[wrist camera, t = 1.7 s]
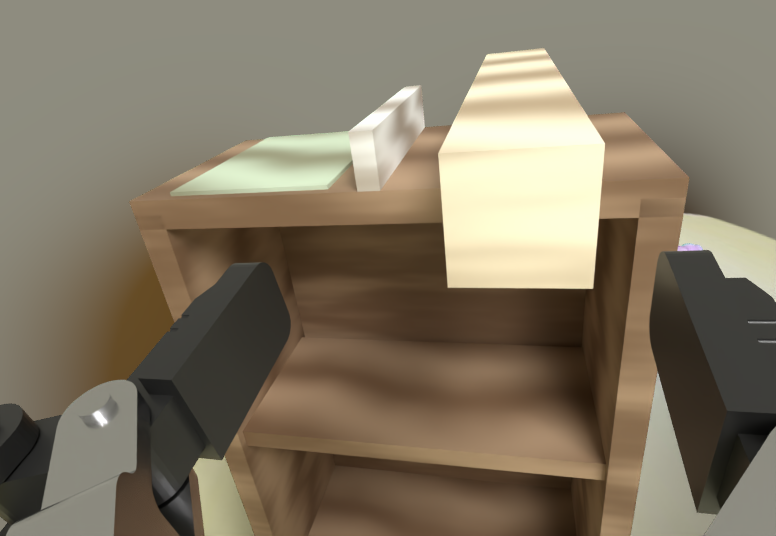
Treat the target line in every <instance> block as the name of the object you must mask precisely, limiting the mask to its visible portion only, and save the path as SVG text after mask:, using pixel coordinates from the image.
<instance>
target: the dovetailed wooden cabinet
mask: <svg viewBox="0 0 776 536" xmlns="http://www.w3.org/2000/svg"><path fill="white" fill-rule="evenodd" d="M587 116H588V118H589V119H590V121H591V122H592V124H593V126H594V127H595V129H596V130H597V132H598V133H599V135H600V136H601V138H602V140H603V141H604V143H605V150H604V162H603V174H602V186H601V199H600V211H599V223H598V235H597V247H596V260H595V272H594V284H593V289H563V288H448V283H447V269H446V255H445V241H444V227H443V213H442V199H441V186H440V172H439V158H438V153H439V151H440V149H441V147H442V145H443V143H444V141H445V139H446V137H447V135H448V133H449V131H450V129H451V127H452V125H450V126H436V127H425V124H424V112H423V100H422V88H421V85H419V86H410V87H405V88H403V89H402V90H400V91H399V92H398V93H397V94H395V95H394V96H393V97H392V98H390V99H389V100H388V101H387V102H385V103H384V104H383V105H382V106H380V107H379V108H378V109H377V110H375V111H374V112H373V113H371V114H370V115H369V116H368V117H366V118H365V119H364V120H363V121H361V122H360V123H359V124H358V125H356V126H355V127H354V128H353V129H351V130H350V131H348V132H334V133H320V134H307V135H294V136H281V137H268V138H267V139H260V140H247V141H244V142H242V143H240V144H238V145H236V146H234V147H233V148H231V149H229V150H227V151H225V152H223V153H221V154H219V155H217V156H215V157H213V158H211V159H210V160H208V161H206V162H204V163H202V164H200V165H198V166H196V167H194V168H192V169H190V170H188V171H187V172H185V173H183V174H181V175H179V176H177V177H175V178H173V179H171V180H169V181H168V182H165V183H164V184H162V185H160V186H158V187H156V188H154V189H152V190H150V191H148V192H146V193H145V194H142V195H141V196H139V197H137V198H135V199H133V200H131V201H130V205H131V208H132V210H133V213H134V215H135V218H136V221H137V223H138V226H139V229H140V232H141V234H142V237H143V239H144V242H145V245H146V248H147V250H148V253H149V255H150V258H151V261H152V264H153V266H154V269H155V272H156V274H157V277H158V280H159V282H160V285H161V287H162V290H163V293H164V295H165V298H166V301H167V303H168V306H169V309H170V311H171V314H172V317H173V319H174V322H176V321H177V319H178V318H181V317H182V316H181V315H182V314H183V312H184V311H185V310H186V309H187V308H188V306H189V305H190V304H191V303H192V302H193V300H194V299H195V298H197V297H198V296H200V295H201V294H202V293H204V292H205V291H206V290H208V289H209V288H210V287H212V286H213V285H215V284H216V282H217V281H218V280H219V279H220V277H221V276H222V275H223V274H224V273H225V271H226V270H227V269H228V268H229V267H230V266H231V265H232V264H234V263H259V262H264V263H267V264H268V265H269V266H270V267H271V269H272V271H273V273H274V276H275V278H276V281H277V283H278V286H279V288H280V291H281V293H282V296H283V299H284V301H285V304H286V306H287V309H288V311H289V314H290V320H291V329H290V335H289V338H288V340H287V342H286V344H285V346H284V348H283V350H282V351H281V353H280V355H279V357H278V359H277V360H276V362H275V364H274V366H273V368H272V370H271V371H270V373H269V375H268V377H267V379H266V381H265V382H264V384H263V386H262V388H261V390H260V391H259V393H258V395H257V397H256V399H255V401H254V402H253V404H252V406H251V408H250V410H249V412H248V413H247V415H246V417H245V419H244V421H243V422H242V424H241V426H240V428H239V430H238V432H237V433H236V435H235V437H234V439H233V441H232V443H231V444H230V446H229V448H228V450H227V452H226V453H225V458H226V460H227V463H228V466H229V468H230V471H231V474H232V476H233V479H234V482H235V484H236V487H237V490H238V492H239V495H240V498H241V500H242V503H243V506H244V508H245V511H246V514H247V516H248V519H249V522H250V524H251V527H252V530H253V532H254V535H255V536H630V535H631V529H632V523H633V517H634V510H635V504H636V498H637V492H638V486H639V480H640V474H641V468H642V462H643V456H644V450H645V444H646V438H647V432H648V426H649V419H650V413H651V407H652V401H653V395H654V389H655V383H656V377H657V371H658V370H657V366H656V363H655V359H654V356H653V352H652V348H651V343H650V333H649V318H650V310H651V303H652V296H653V289H654V281H655V274H656V267H657V261H658V257H659V254H660V252H662V251H677V250H678V244H679V238H680V231H681V225H682V219H683V213H684V207H685V201H686V195H687V188H688V183H689V177H688V176H687V175H686V174H685V173H684V172H683V171H682V170H681V169H680V168H679V167H678V166H677V165H676V164H675V163H674V162H673V161H672V160H671V159H670V158H669V157H668V156H667V155H666V154H665V153H664V152H663V151H662V150H661V149H660V148H659V147H658V146H657V145H656V144H655V143H654V142H653V141H652V140H651V139H650V138H649V137H648V136H647V135H646V134H645V133H644V132H643V131H642V130H641V129H640V128H639V127H638V126H637V125H636V123H635V122H634V121H633V120H632V119H630V117H629V116H627V115H626V114H625V113H611V114H598V115H587Z"/></svg>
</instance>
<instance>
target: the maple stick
mask: <svg viewBox="0 0 776 536" xmlns="http://www.w3.org/2000/svg"><path fill="white" fill-rule="evenodd" d="M604 150H605V143H604V141H603V140H602V138H601V136H600V135H599V133H598V132H597V130H596V129H595V127H594V126H593V124H592V122H591V121H590V119H589V118H588V116H587V115H586V113H585V111H584V110H583V109H582V107H581V105H580V104H579V102H578V101H577V99H576V97H575V96H574V94H573V93H572V91H571V90H570V88H569V87H568V85H567V83H566V82H565V81H564V79H563V77H562V76H561V74H560V73H559V71H558V69H557V68H556V66H555V65H554V63H553V62H552V60H551V58H550V57H549V55H548V54H547V52H546V51H545V49H544V48H542V49H532V50H524V51H513V52H505V53H495V54H487V56H486V58H485V60H484V62H483V64H482V66H481V68H480V70H479V72H478V74H477V76H476V78H475V80H474V82H473V84H472V86H471V88H470V90H469V92H468V94H467V97H466V98H465V100H464V102H463V104H462V106H461V108H460V110H459V112H458V114H457V116H456V118H455V120H454V122H453V125H452V127H451V129H450V131H449V133H448V135H447V137H446V139H445V141H444V143H443V145H442V147H441V149H440V151H439V153H438V158H439V172H440V186H441V199H442V213H443V227H444V241H445V255H446V269H447V283H448V288H563V289H593V284H594V272H595V260H596V247H597V235H598V223H599V211H600V199H601V186H602V174H603V162H604Z"/></svg>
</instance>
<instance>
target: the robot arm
mask: <svg viewBox="0 0 776 536" xmlns="http://www.w3.org/2000/svg"><path fill="white" fill-rule="evenodd" d="M181 316H182V317H181V318H178V319H177V321H176V322H175V323H174V324H173V326H172V327H171V328H170V332H167V333H166V334H165V335H164V336H163V337H162V339H161V340H160V341H159V342H158V343H157V344H156V346H155V347H154V348H153V349H152V350H151V352H150V353H149V354H148V355H147V356H146V358H145V359H144V360H143V361H142V362H141V364H140V365H139V366H138V367H137V368H136V370H135V371H134V372H133V373H132V374H131V376H130V377H129V378H128V379H127V380H115V381H110V382H106V383H104V384H101V385H99V386H96V387H94V388H93V389H91V390H89V391H87V392H86V393H84V394H83V395H81V396H80V397H79V398H78V399H76V400H75V401H74V402H73V403H72V404H71V405H70V406H69V407H68V408H67V409H66V410H65V412H64V413H63V415H59V416H54V417H50V418H46V419H41V420H37V421H33V420H32V419H31V418H30V417H29V416H28V415H27V414H26V413H25V411H24V410H23V409H22V408H21V407H20V406H19V405H16V404H3V405H0V517H1V518H3V519H4V520H5V521H6V522H7V524H6V525H5V527H4V528H3V529H2V530H1V532H0V536H204V528H203V519H202V511H201V502H200V494H199V485H198V478H197V475H196V473H195V471H194V470H193V466H194V465H195V463H196V461H197V460H198V458H206V459H216V460H222V459H223V457H224V455H225V453H226V452H227V450H228V448H229V446H230V444H231V443H232V441H233V439H234V437H235V435H236V433H237V432H238V430H239V428H240V426H241V424H242V422H243V421H244V419H245V417H246V415H247V413H248V412H249V410H250V408H251V406H252V404H253V402H254V401H255V399H256V397H257V395H258V393H259V391H260V390H261V388H262V386H263V384H264V382H265V381H266V379H267V377H268V375H269V373H270V371H271V370H272V368H273V366H274V364H275V362H276V360H277V359H278V357H279V355H280V353H281V351H282V350H283V348H284V346H285V344H286V342H287V340H288V338H289V335H290V329H291V320H290V314H289V311H288V309H287V306H286V304H285V301H284V299H283V296H282V293H281V291H280V288H279V286H278V283H277V281H276V278H275V276H274V273H273V271H272V269H271V267H270V266H269V265H268V264H267V263H264V262H259V263H234V264H232V265H231V266H230V267H229V268H228V269H227V270H226V271H225V273H224V274H223V275H222V276H221V277H220V279H219V280H218V281H217V282H216V284H215V285H213V286H212V287H210V288H209V289H208V290H206V291H205V292H204V293H202V294H201V295H200V296H198V297H197V298H195V299H194V300H193V302H192V303H191V304H190V305H189V306H188V308H187V309H186V310H185V311H184V312H183V314H182V315H181ZM649 333H650V343H651V348H652V352H653V356H654V359H655V363H656V366H657V370H658V374H659V377H660V381H661V384H662V388H663V392H664V395H665V399H666V402H667V406H668V410H669V413H670V417H671V420H672V424H673V428H674V431H675V435H676V438H677V442H678V446H679V449H680V453H681V456H682V460H683V464H684V467H685V471H686V474H687V478H688V482H689V485H690V489H691V492H692V496H693V500H694V503H695V507H696V510H697V512H699V513H708V514H717V516H716V517H715V519H714V521H713V522H712V524H711V525H710V527H709V528H708V530H707V531H706V533H705V534H704V536H776V302H775V301H774V299H773V298H772V297H771V296H770V295H769V294H767V293H766V292H765V291H763V290H762V289H760V288H759V287H758V286H756V285H755V284H754V283H752V282H751V281H749V280H748V279H747V278H725V277H724V275H723V273H722V271H721V269H720V267H719V265H718V263H717V261H716V260H715V258H714V256H713V254H712V253H711V252H710V251H709V250H694V251H662V252H660V254H659V257H658V261H657V267H656V274H655V281H654V289H653V296H652V303H651V310H650V318H649Z"/></svg>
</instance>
